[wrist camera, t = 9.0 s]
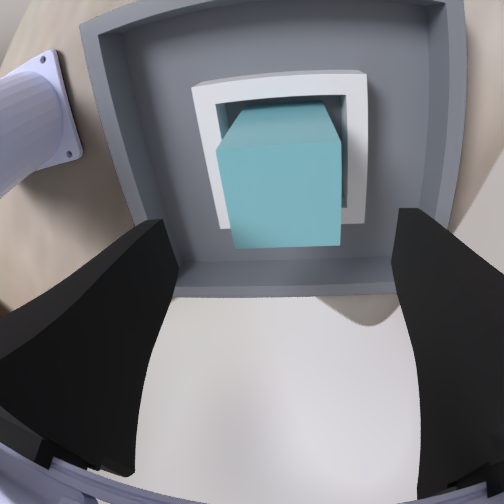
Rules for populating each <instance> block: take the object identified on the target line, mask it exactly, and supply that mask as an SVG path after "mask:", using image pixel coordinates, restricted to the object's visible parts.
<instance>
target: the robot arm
mask: <svg viewBox="0 0 504 504" xmlns="http://www.w3.org/2000/svg"><path fill="white" fill-rule="evenodd" d="M44 57H45V58H46V61H44ZM70 152H71V153H72V155H71V154H70ZM82 155H83V149H82V146H81V143H80V139H79V136H78V133H77V130H76V126H75V123H74V120H73V116H72V112H71V109H70V105H69V102H68V98H67V94H66V90H65V86H64V82H63V78H62V74H61V69H60V65H59V60H58V56H57V52H56V50H55V49H50V50H47V51H45V52H43V53H41V54H40V55H38V56H36V57H34V58H33V59H31V60H29V61H27V62H26V63H24V64H23V65H21V66H19V67H18V68H16V69H15V70H13V71H11V72H10V73H8V74H7V75H5V76H4V77H2V78H1V79H0V199H1V198H2V197H3V196H4V195H5V194H6V193H8V192H9V191H10V190H11V189H12V188H14V187H15V186H16V185H17V184H19V183H20V182H21V181H22V180H23V179H25V178H26V177H27V176H29V175H30V174H31V173H32V172H34V171H37V170H40V169H44V168H47V167H51V166H54V165H58V164H61V163H65V162H69V161H72V160H76V159H79V158H80V157H81V156H82ZM391 266H392V272H393V277H394V282H395V288H396V292H397V295H398V299H399V302H400V305H401V308H402V312H403V315H404V319H405V322H406V325H407V329H408V333H409V336H410V340H411V344H412V347H413V351H414V356H415V361H416V367H417V376H418V385H419V395H420V396H419V397H420V414H421V450H420V465H419V476H418V484H417V500H415V501H410V502H404V503H399V504H504V274H503V273H501V272H500V271H498V270H497V269H496V268H494V267H493V266H492V265H490V264H489V263H488V262H487V261H485V260H484V259H483V258H482V257H480V256H479V255H478V254H476V253H475V252H474V251H472V250H471V249H470V248H469V247H468V246H466V245H465V244H464V243H462V242H461V241H460V240H459V239H458V238H456V237H455V236H454V235H453V234H452V233H450V232H449V231H448V230H447V229H445V228H444V227H443V226H442V225H441V224H439V223H438V222H437V221H435V220H434V219H433V218H432V217H430V216H429V215H428V214H426V213H425V212H423V211H422V210H420V209H419V208H399V212H398V219H397V226H396V233H395V240H394V246H393V252H392V258H391ZM178 272H179V266H178V263H177V260H176V257H175V255H174V252H173V249H172V246H171V243H170V240H169V237H168V234H167V231H166V228H165V224H164V221H163V219H152V220H145V221H143V222H142V223H140V224H138V225H137V226H135V227H134V228H132V229H131V230H130V231H128V232H127V233H125V234H124V235H123V236H121V237H120V238H119V239H117V240H116V241H115V242H113V243H112V244H111V245H110V246H108V247H107V248H106V249H104V250H103V251H102V252H101V253H99V254H98V255H97V256H95V257H94V258H93V259H91V260H90V261H89V262H87V263H86V264H85V265H83V266H82V267H81V268H79V269H78V270H77V271H75V272H74V273H73V274H71V275H70V276H69V277H67V278H66V279H64V280H63V281H62V282H60V283H59V284H57V285H56V286H54V287H53V288H51V289H50V290H48V291H47V292H45V293H43V294H42V295H40V296H38V297H37V298H35V299H33V300H32V301H30V302H28V303H26V304H25V305H23V306H21V307H20V308H18V309H16V310H14V311H12V312H10V313H8V314H6V315H5V316H2V317H0V504H98V502H97V500H96V499H95V498H97V499H100V500H102V501H105V502H108V503H110V504H206V503H201V502H195V501H190V500H185V499H180V498H175V497H171V496H167V495H162V494H158V493H154V492H151V491H147V490H143V489H140V488H136V487H133V486H130V485H126V484H123V483H120V482H117V481H114V480H111V479H108V478H105V477H102V476H100V475H96V474H94V473H92V472H89V471H87V467H88V468H91V469H93V470H96V471H99V470H100V469H101V470H104V471H107V472H110V473H113V474H116V475H119V476H122V477H129V476H130V475H132V474H133V473H135V448H136V434H137V424H138V414H139V409H140V403H141V396H142V391H143V386H144V381H145V376H146V372H147V367H148V363H149V360H150V357H151V353H152V350H153V347H154V345H155V342H156V339H157V336H158V334H159V331H160V328H161V325H162V323H163V321H164V318H165V315H166V313H167V310H168V307H169V305H170V302H171V299H172V297H173V293H174V289H175V285H176V281H177V277H178ZM94 497H95V498H94Z"/></svg>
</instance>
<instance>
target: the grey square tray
mask: <svg viewBox="0 0 504 504" xmlns="http://www.w3.org/2000/svg"><path fill="white" fill-rule="evenodd" d="M79 29H80V34H81V40H82V45H83V50H84V54H85V59H86V64H87V68H88V73H89V77H90V81H91V85H92V89H93V93H94V97H95V101H96V105H97V109H98V113H99V116H100V120H101V123H102V127H103V131H104V134H105V137H106V141H107V144H108V148H109V151H110V154H111V157H112V160H113V164H114V167H115V170H116V173H117V176H118V179H119V182H120V185H121V188H122V191H123V194H124V197H125V200H126V202H127V205H128V208H129V211H130V214H131V216H132V219H133V222H134V225H135V226H137V225H138V224H140V223H142V222H143V221H145V220H152V219H163V221H164V224H165V228H166V231H167V234H168V237H169V240H170V243H171V246H172V249H173V252H174V255H175V257H176V260H177V263H178V266H179V272H178V277H177V281H176V285H175V289H174V293H173V297H201V298H204V297H206V298H211V297H212V298H213V297H214V298H249V297H250V298H253V297H254V298H255V297H310V296H341V295H365V294H385V293H397V292H396V288H395V282H394V277H393V272H392V266H391V258H392V252H393V246H394V240H395V233H396V226H397V219H398V212H399V208H419V209H420V210H422V211H423V212H425V213H426V214H428V215H429V216H430V217H432V218H433V219H434V220H435V221H437V222H438V223H439V224H441V225H442V226H443V227H444V228H445V229H447V228H448V223H449V219H450V214H451V210H452V205H453V200H454V195H455V189H456V184H457V178H458V171H459V165H460V158H461V150H462V142H463V133H464V122H465V109H466V90H467V42H466V24H465V12H464V2H463V0H139V1H136V2H134V3H131V4H128V5H125V6H123V7H120V8H117V9H115V10H112V11H110V12H107V13H105V14H102V15H100V16H98V17H95V18H93V19H91V20H89V21H87V22H84V23H82V24H80V25H79ZM305 101H322V102H323V104H324V106H325V108H326V110H327V112H328V115H329V117H330V119H331V121H332V123H333V125H334V127H335V130H336V132H337V134H338V136H339V139H340V141H341V160H342V194H341V235H340V245H338V246H308V247H278V248H249V249H235V247H234V242H233V237H232V232H231V228H230V223H229V218H228V213H227V207H226V202H225V197H224V192H223V187H222V182H221V177H220V172H219V167H218V161H217V156H216V151H215V150H216V149H217V147H218V146H219V144H220V143H221V141H222V140H223V138H224V136H225V135H226V133H227V132H228V130H229V129H230V127H231V126H232V124H233V123H234V121H235V120H236V118H237V117H238V115H239V114H240V112H241V111H242V109H243V108H244V106H251V105H261V104H273V103H287V102H305Z"/></svg>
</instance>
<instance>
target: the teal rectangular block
mask: <svg viewBox="0 0 504 504" xmlns="http://www.w3.org/2000/svg"><path fill="white" fill-rule="evenodd" d="M215 151H216V156H217V161H218V167H219V172H220V177H221V182H222V187H223V192H224V197H225V202H226V207H227V213H228V218H229V223H230V228H231V232H232V237H233V242H234V247H235V249H249V248H278V247H308V246H338V245H340V235H341V194H342V160H341V141H340V139H339V136H338V134H337V132H336V130H335V127H334V125H333V123H332V121H331V119H330V117H329V115H328V112H327V110H326V108H325V106H324V104H323V102H322V101H305V102H287V103H273V104H261V105H251V106H244V108H243V109H242V111H241V112H240V114H239V115H238V117H237V118H236V120H235V121H234V123H233V124H232V126H231V127H230V129H229V130H228V132H227V133H226V135H225V136H224V138H223V140H222V141H221V143H220V144H219V146H218V147H217V149H216V150H215Z"/></svg>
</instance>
